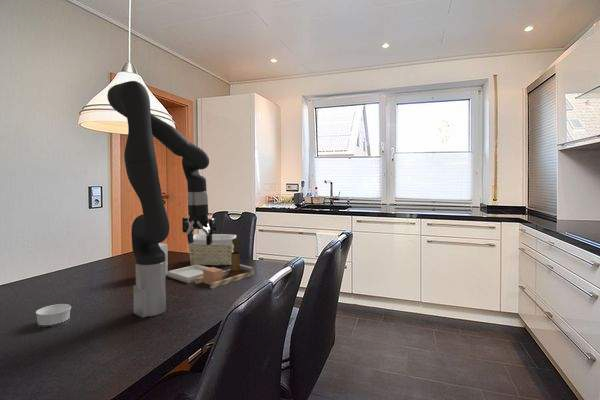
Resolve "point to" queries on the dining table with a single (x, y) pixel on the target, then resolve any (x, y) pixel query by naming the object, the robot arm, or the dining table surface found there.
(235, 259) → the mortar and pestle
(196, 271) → the tray
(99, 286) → the dining table surface
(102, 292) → the dining table surface
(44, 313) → the ramekin
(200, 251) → the storage basket
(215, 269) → the orange brown block
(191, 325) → the dining table surface
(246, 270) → the rail
